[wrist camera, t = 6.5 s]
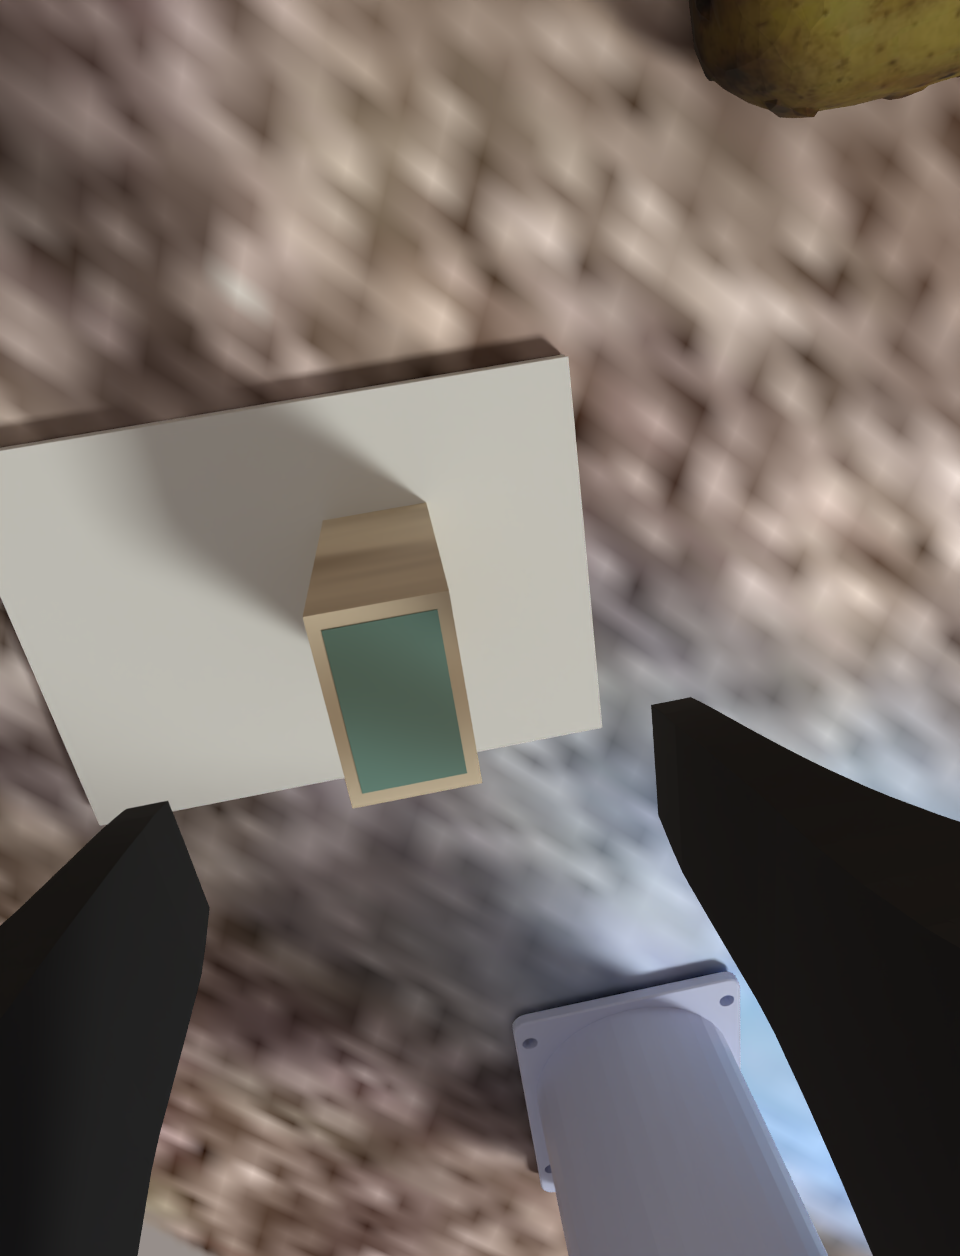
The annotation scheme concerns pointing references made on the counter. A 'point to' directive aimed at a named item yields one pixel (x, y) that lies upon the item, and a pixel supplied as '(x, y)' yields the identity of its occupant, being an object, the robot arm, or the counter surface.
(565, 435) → the mat
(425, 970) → the counter surface
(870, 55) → the potato
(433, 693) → the green-faced wooden block
